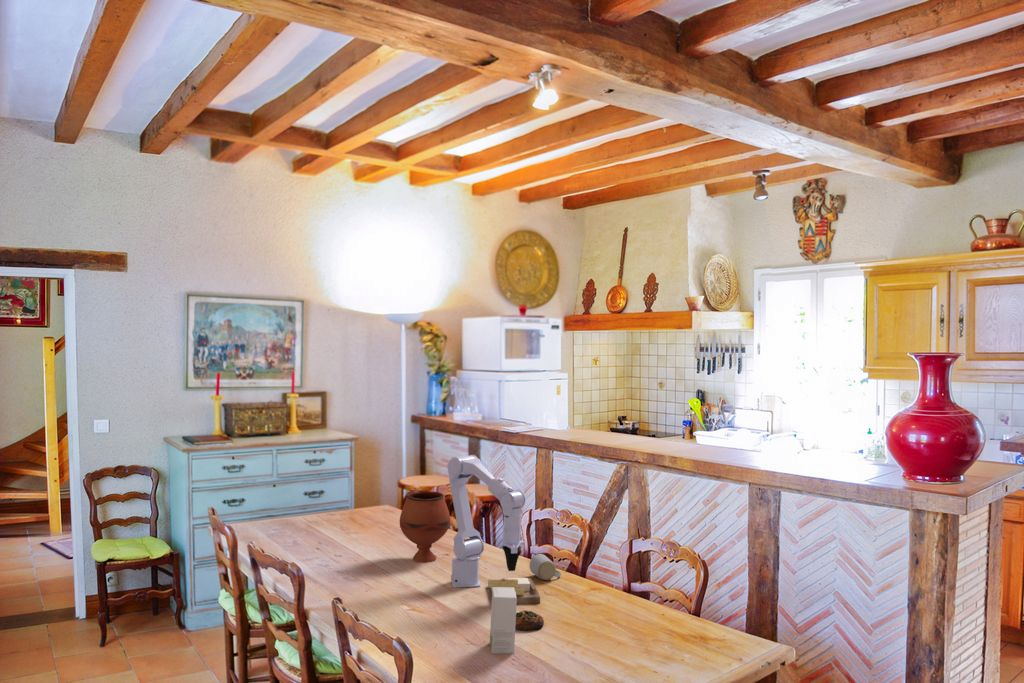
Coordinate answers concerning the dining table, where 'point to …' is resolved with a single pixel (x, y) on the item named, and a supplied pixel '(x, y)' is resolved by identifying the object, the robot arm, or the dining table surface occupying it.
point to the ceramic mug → (543, 567)
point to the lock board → (527, 595)
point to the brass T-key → (506, 584)
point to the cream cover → (522, 584)
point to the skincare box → (503, 620)
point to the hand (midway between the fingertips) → (511, 569)
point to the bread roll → (528, 621)
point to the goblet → (424, 522)
